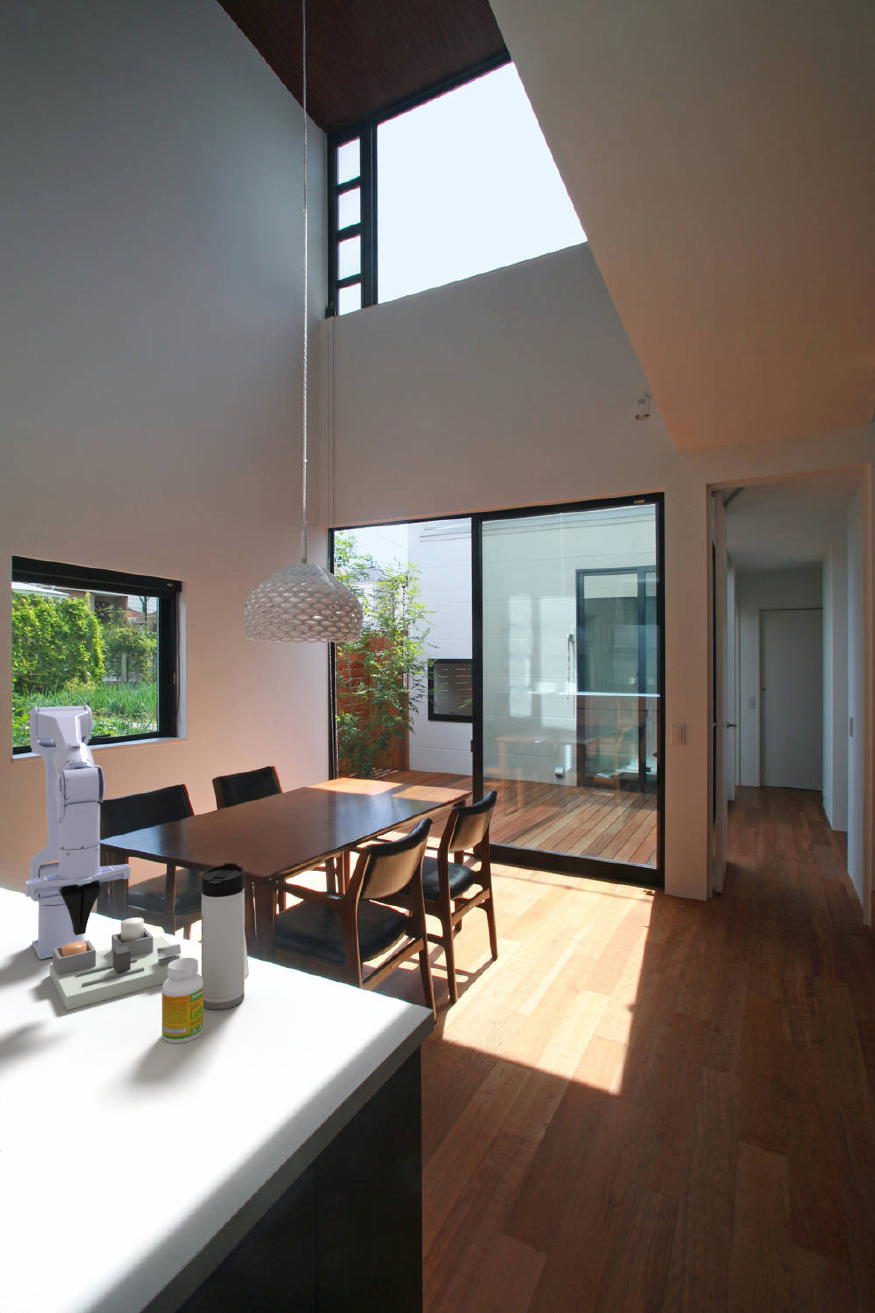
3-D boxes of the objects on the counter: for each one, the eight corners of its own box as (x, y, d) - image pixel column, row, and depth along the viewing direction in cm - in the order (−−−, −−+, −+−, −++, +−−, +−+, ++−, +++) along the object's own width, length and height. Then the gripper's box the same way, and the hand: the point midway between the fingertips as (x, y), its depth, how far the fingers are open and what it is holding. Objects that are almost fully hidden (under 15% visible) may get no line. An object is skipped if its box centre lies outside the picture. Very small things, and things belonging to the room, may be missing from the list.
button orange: (59, 963, 112) (59, 945, 112) (84, 957, 115) (84, 939, 115) (63, 971, 110) (63, 952, 110) (88, 964, 112) (88, 946, 112)
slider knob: (112, 967, 111) (113, 948, 111) (126, 964, 112) (126, 945, 112) (117, 973, 108) (117, 954, 108) (130, 969, 110) (130, 951, 110)
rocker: (157, 957, 113) (157, 948, 114) (173, 953, 115) (173, 944, 115) (164, 957, 110) (163, 948, 111) (181, 953, 112) (180, 944, 112)
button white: (118, 938, 118) (118, 920, 118) (140, 933, 120) (140, 916, 120) (123, 944, 115) (123, 927, 115) (146, 939, 117) (146, 922, 117)
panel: (49, 975, 113) (49, 947, 113) (162, 947, 124) (162, 922, 124) (66, 1010, 101) (66, 979, 101) (189, 976, 112) (189, 948, 112)
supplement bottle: (194, 1044, 92) (194, 972, 92) (155, 1044, 92) (155, 972, 92) (209, 1024, 97) (209, 955, 97) (171, 1023, 97) (171, 955, 97)
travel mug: (251, 990, 107) (251, 862, 107) (234, 1011, 100) (234, 875, 101) (213, 989, 108) (213, 862, 108) (194, 1009, 101) (194, 874, 101)
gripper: (29, 859, 99) (29, 953, 99) (135, 842, 108) (135, 929, 108) (23, 849, 105) (22, 938, 104) (124, 834, 114) (124, 916, 113)
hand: (79, 932), depth 106 cm, fingers closed
